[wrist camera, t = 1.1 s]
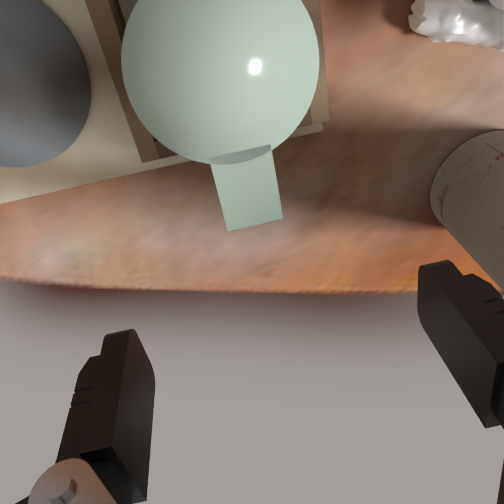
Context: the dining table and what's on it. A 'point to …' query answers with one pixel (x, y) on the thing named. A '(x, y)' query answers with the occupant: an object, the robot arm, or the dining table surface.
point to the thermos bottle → (474, 200)
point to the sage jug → (223, 89)
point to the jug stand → (83, 97)
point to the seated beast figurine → (460, 21)
